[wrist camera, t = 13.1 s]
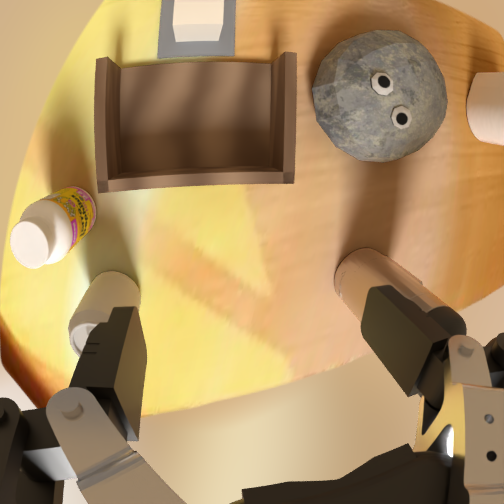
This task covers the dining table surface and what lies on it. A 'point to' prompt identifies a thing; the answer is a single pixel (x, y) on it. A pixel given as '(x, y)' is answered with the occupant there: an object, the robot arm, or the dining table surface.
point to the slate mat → (196, 48)
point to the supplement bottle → (52, 227)
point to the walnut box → (195, 124)
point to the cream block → (198, 20)
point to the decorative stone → (379, 96)
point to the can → (101, 305)
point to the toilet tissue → (487, 107)
